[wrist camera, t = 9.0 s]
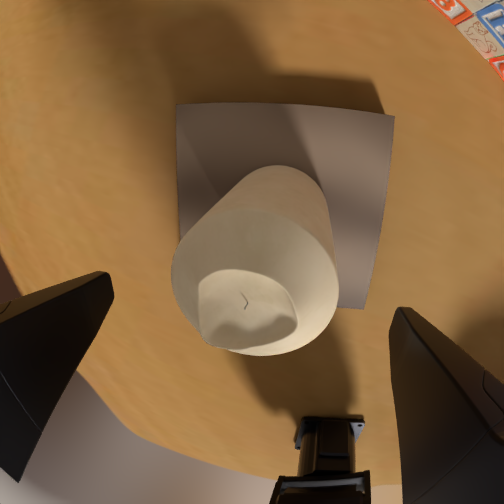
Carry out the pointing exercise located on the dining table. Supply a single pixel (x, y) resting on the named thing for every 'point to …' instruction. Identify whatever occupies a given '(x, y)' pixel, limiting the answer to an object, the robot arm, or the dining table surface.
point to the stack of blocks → (479, 26)
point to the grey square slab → (296, 156)
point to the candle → (260, 265)
